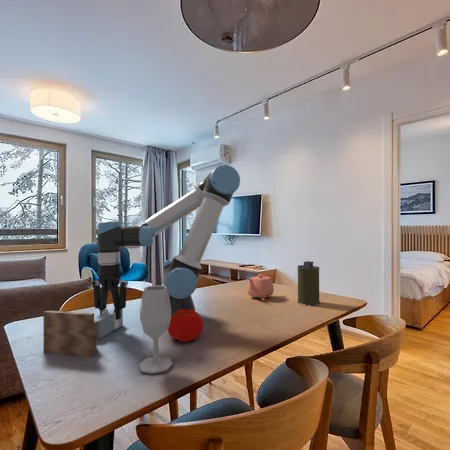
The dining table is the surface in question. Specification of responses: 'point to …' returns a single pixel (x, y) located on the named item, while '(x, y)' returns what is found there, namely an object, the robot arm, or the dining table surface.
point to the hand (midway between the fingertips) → (110, 327)
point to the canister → (308, 284)
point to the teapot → (260, 286)
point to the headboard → (70, 333)
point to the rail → (106, 323)
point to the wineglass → (155, 325)
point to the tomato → (185, 325)
